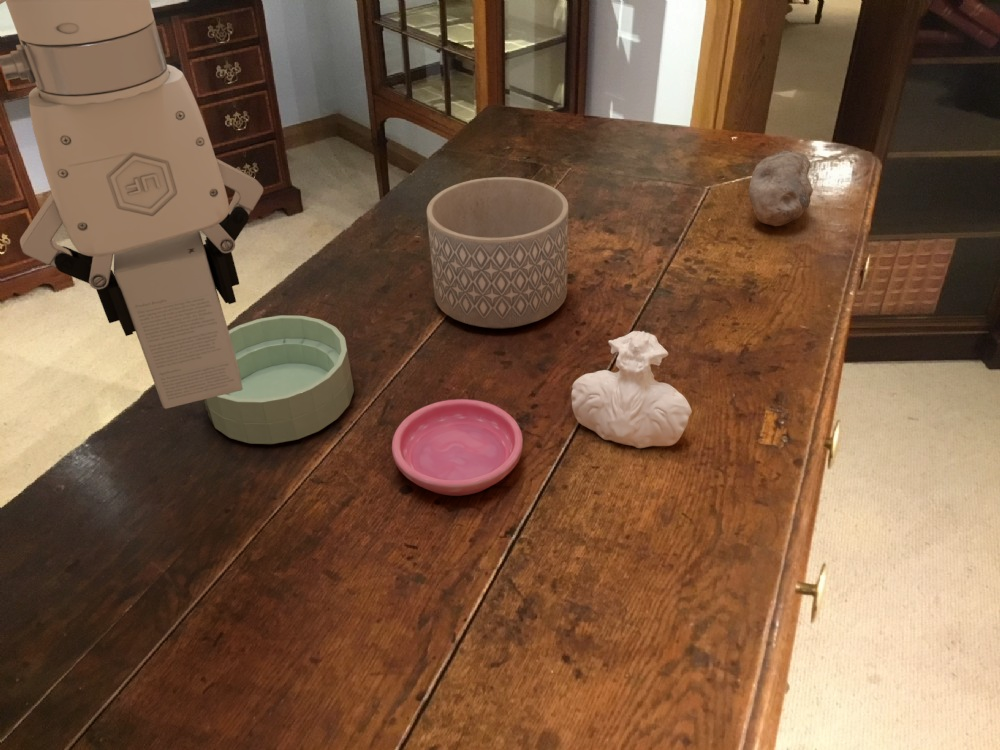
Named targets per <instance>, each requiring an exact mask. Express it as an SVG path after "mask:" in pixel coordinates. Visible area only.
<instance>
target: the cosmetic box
mask: <svg viewBox="0 0 1000 750" xmlns="http://www.w3.org/2000/svg"><path fill="white" fill-rule="evenodd" d="M113 273H114V275H115V278H116V280H117V283H118V285H119V287H120V289H121V292H122V294H123V297H124V300H125V303H126V306H127V308H128V311H129V314H130V317H131V320H132V322H133V325H134V328H135V333H136V336H137V339H138V342H139V345H140V347H141V351H142V353H143V357H144V359H145V362H146V365H147V367H148V369H149V372H150V373H149V374H150V375H151V378H152V381H153V383H154V387H155V389H156V391H157V395H158V398H159V400H160V404H161V405H162V407H163V408H164V410H165V409H166V410H167V409H170V408H174V407H179V406H183V405H187V404H190V403H191V404H192V403H195V402H198V401H204V399H208V398H212V397H216V396H220V395H224V394H228V393H232V392H236V391H241V390H242V389H243V388H242V383H241V377H240V372H239V368H238V364H237V359H236V356H235V352H234V349H233V345H232V342H231V338H230V334H229V328H228V324H227V321H226V318H225V314H224V311H223V307H222V304H221V301H220V297H219V292H218V291H217V289H216V286H215V283H214V279H213V276H212V272H211V269H210V265H209V262H208V259H207V255H206V252H205V248H204V241H203V237H202V234H201V231H198V232H194V233H191V234H187V235H184V236H180V237H176V238H173V239H169V240H165V241H162V242H158V243H154V244H151V245H147V246H143V247H139V248H136V249H132V250H128V251H124V252H120V253H116V254H113Z"/></svg>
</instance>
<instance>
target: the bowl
mask: <svg viewBox="0 0 1000 750" xmlns="http://www.w3.org/2000/svg"><path fill="white" fill-rule="evenodd" d="M228 331H229V334H230V338H231V342H232V345H233V349H234V352H235V356H236V359H237V364H238V368H239V372H240V377H241V383H242V388H243V389H242V390H241V391H236V392H232V393H228V394H224V395H220V396H216V397H212V398H208V399H204V400H203V404H204V406H205V409H206V413H207V416H208V418H209V419H210V422H211V423H212V425H213V427H214V428H215V430H217V431H219V432H220V433H222V434H223V435H224V436H226V437H228V438H229V439H231V440H236V441H238V442H243V443H245V444H246V443H247V444H253V445H254V444H256V445H275V444H280V443H281V444H282V443H286V442H292V441H296V440H300V439H302V438H305V437H308V436H310V435H312V434H313V435H314V434H315V433H318V432H320V431H322V430H323V429H324V428H327V426H329V425H331V424H332V423H333V422H334V421H336V420H337V419H339V418H340V416H341V415H342V414H343V413H344V412H345V411H346V410H347V408H348V407H349V406H350V405H351V401H352V398H353V395H354V392H355V387H354V382H353V375H352V370H351V364H350V359H349V353H348V347H347V340H346V338H345V336H344V335H343V334H342V332H341V331H340V330H339V329H338V328H337V327H336V326H334V325H333V324H330V323H329V322H327V321H325V320H323V319H320V318H315V317H310V316H306V315H289V314H288V315H285V314H284V315H283V314H282V315H275V316H274V315H273V316H269V317H262V318H261V317H260V318H257V319H254V320H251V321H247V322H245V323H242V324H239V325H237V326H235V327H233V328H230V329H228Z"/></svg>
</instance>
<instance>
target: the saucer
mask: <svg viewBox="0 0 1000 750" xmlns="http://www.w3.org/2000/svg"><path fill="white" fill-rule="evenodd" d="M523 443H524V439H523V433H522V430H521V428H520V426H519V424H518V423H517V421H516V420H515V419H514V417H512V416H511V415H510V414H509V413H508V412H506V411H505V410H503V409H502V408H500V407H499V406H498V405H494V404H492V403H489V402H485V401H481V400H477V399H467V398H459V399H447V400H441V401H437V402H433V403H431V404H428V405H425V406H423V407H420V408H419V409H417V410H415V411H413V412H412V413H411V414H409V415H408V416H407V417H406V418H405V419H404V420H402V422H401V423H400V424H399V425H398V427H397V428H396V430H395V432H394V435H393V436H392V443H391V453H392V458H393V461H394V464H395V465H396V467H397V469H398V470H399V471H400V473H401V474H402V475H403V476H404V477H406V479H408V480H409V481H411V482H412V483H414V484H415V485H417V486H418V487H421V488H423V489H425V490H427V491H430V492H432V493H435V494H438V495H443V496H450V497H460V496H461V497H462V496H468V495H469V496H470V495H474V494H477V493H480V492H482V491H484V490H487V489H488V488H490V487H492V486H494V485H495V484H498V483H499V482H500V481H502V480H503V479H505V477H507V475H509V474H510V473H511V472H512V471H513V470H514V468H515V467H516V466H517V464H518V463H519V461H520V458H521V456H522V453H523V445H524V444H523Z"/></svg>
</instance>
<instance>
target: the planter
mask: <svg viewBox="0 0 1000 750" xmlns="http://www.w3.org/2000/svg"><path fill="white" fill-rule="evenodd" d="M426 219H427V220H426V221H427V230H428V232H427V233H428V241H429V242H428V243H429V252H430V253H429V254H430V263H431V272H432V273H431V274H432V286H433V292H434V293H433V294H434V301H435V302H436V306H437V307H438V308H439V309H440V310H441V311H442V312H443V313H444V314H445V315H446V316H448V317H450V318H452V319H453V320H455V321H458V322H461V323H463V324H468V325H470V326H473V327H474V326H475V327H478V328H484V329H486V328H487V329H495V330H497V329H498V330H499V329H511V328H517V327H522V326H526V325H530V324H532V323H536V322H538V321H541V320H543V319H546V318H547V317H548V316H550V315H552V314H553V313H554V312H556V311H558V309H560V308H561V306H562V305H563V304H564V302H565V300H566V298H567V295H568V265H569V263H568V260H569V202H568V200H567V197H565V195H564V194H563V193H562V192H561V191H559V190H558V189H557V188H555V187H553V186H552V185H548V184H546V183H543V182H541V181H536V180H535V179H534V180H533V179H529V178H521V177H510V176H495V177H494V176H492V177H482V178H477V179H476V178H475V179H471V180H467V181H466V180H465V181H463V182H459V183H456V184H454V185H451V186H449V187H447V188H445V189H443V190H441V191H440V192H438V193H437V194H436V195H434V196H433V197H432V199H431V200H430V201H429V203H428V204H427V207H426Z"/></svg>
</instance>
